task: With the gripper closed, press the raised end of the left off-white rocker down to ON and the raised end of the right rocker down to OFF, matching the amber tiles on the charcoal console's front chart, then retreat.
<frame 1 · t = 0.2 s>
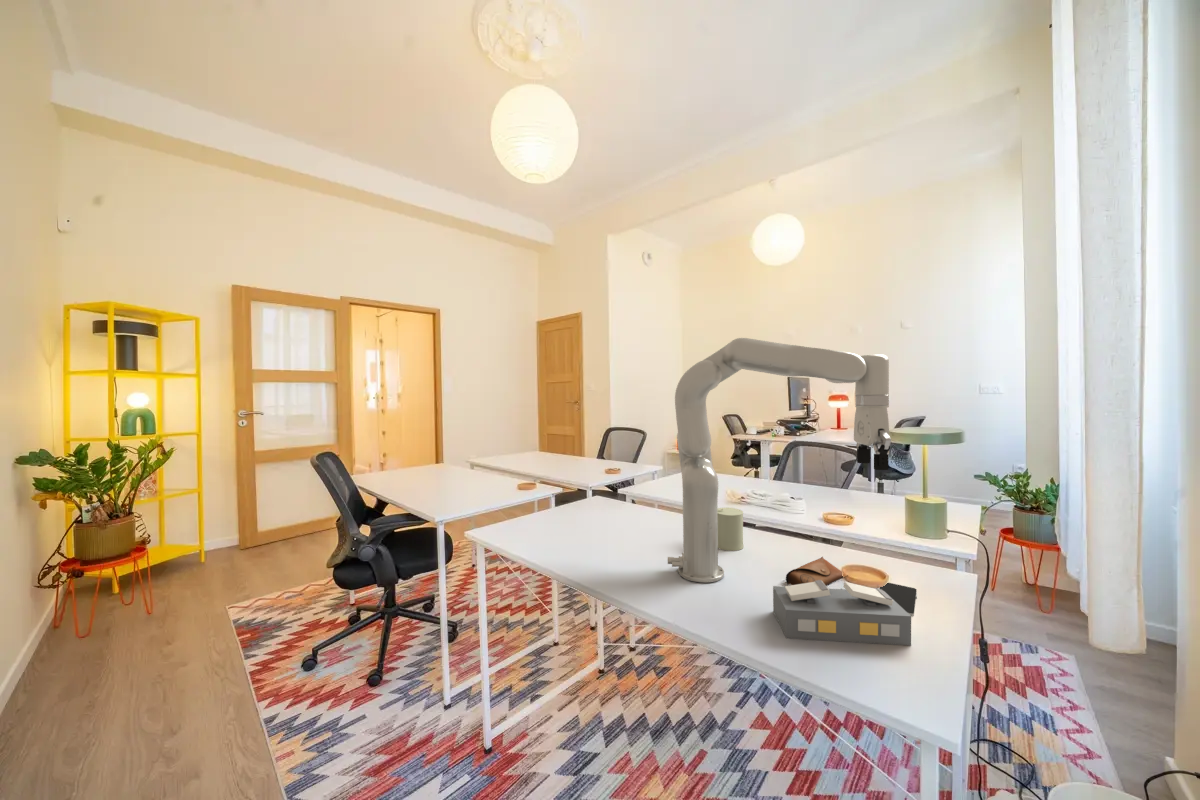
hand: (871, 466, 117), 31 cm above the table, fingers open, 9 cm apart
rocker A: (806, 590, 97), point 8 cm above the table, hinge at -12.0°
smartphone: (895, 601, 108), on the table
can: (729, 546, 146), on the table
console: (837, 627, 96), on the table
rocker B: (867, 592, 95), point 8 cm above the table, hinge at 12.0°
sunglasses case: (817, 581, 120), on the table
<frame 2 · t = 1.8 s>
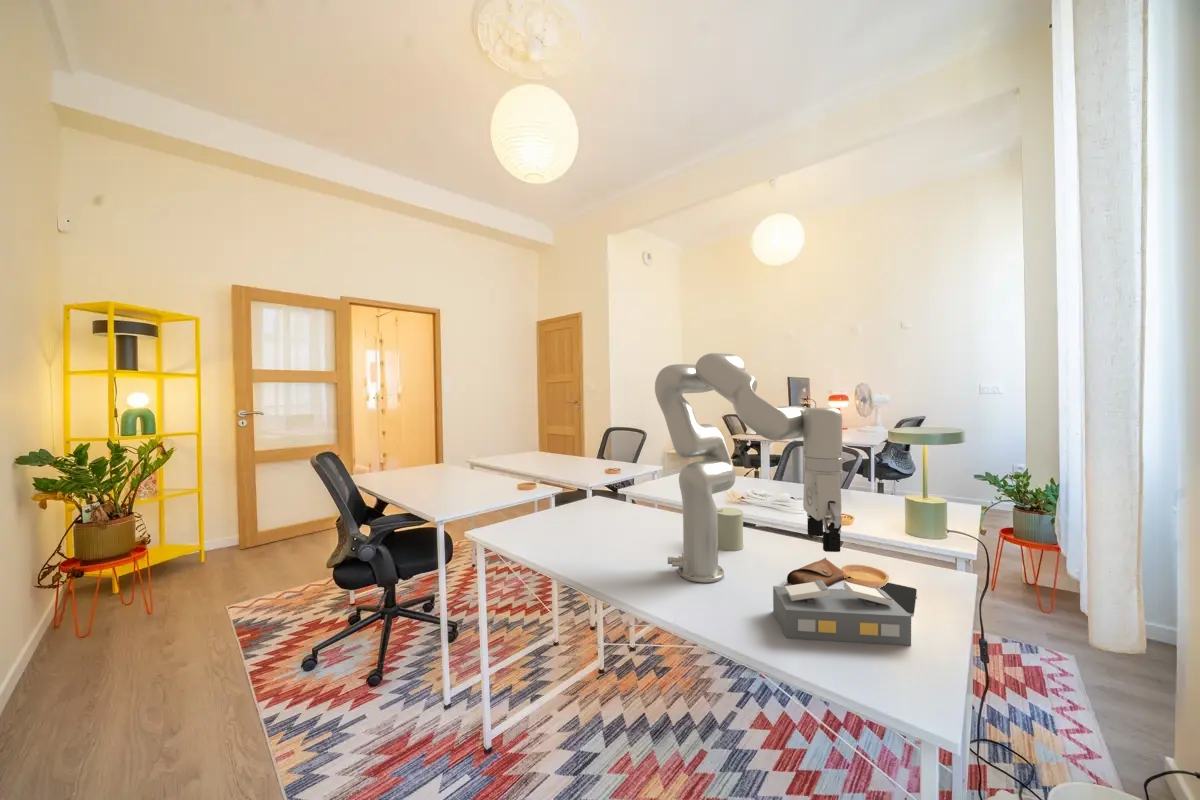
hand: (823, 543, 96), 18 cm above the table, fingers open, 9 cm apart
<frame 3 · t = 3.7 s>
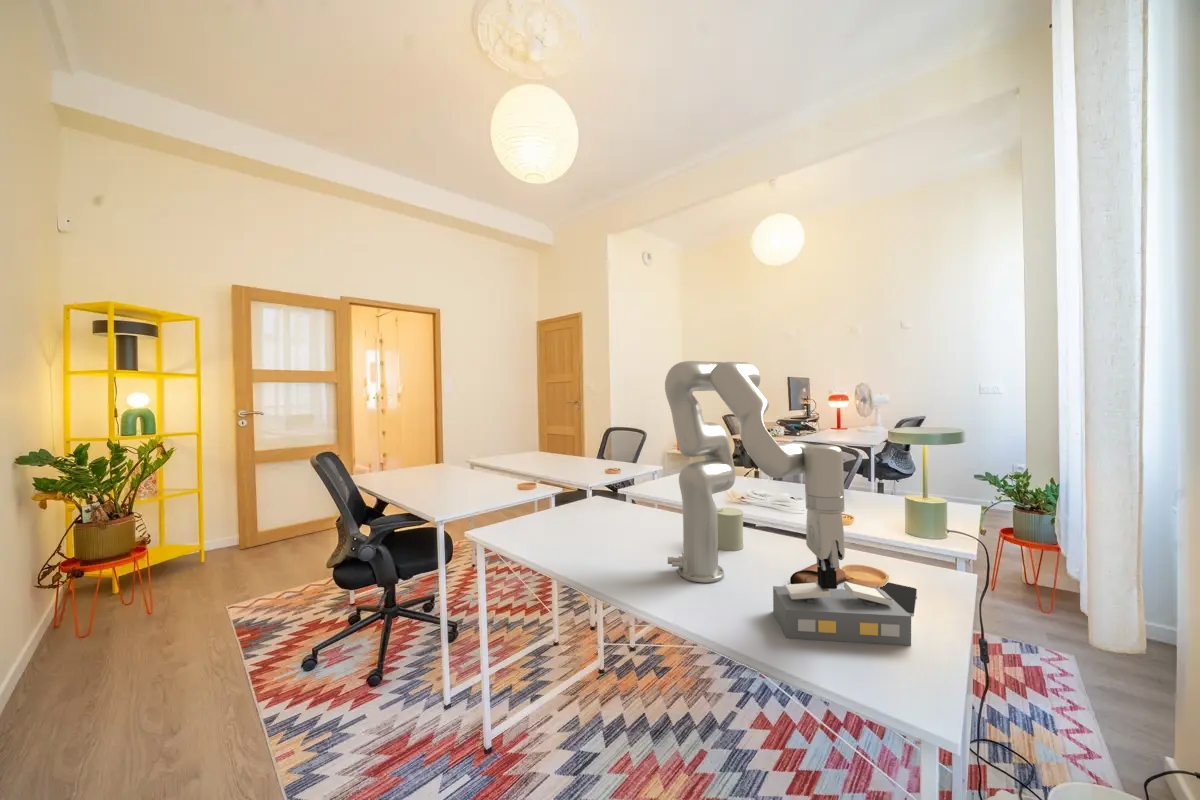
hand: (827, 586, 96), 9 cm above the table, fingers closed
rocker A: (807, 590, 97), point 8 cm above the table, hinge at -7.0°, touching gripper
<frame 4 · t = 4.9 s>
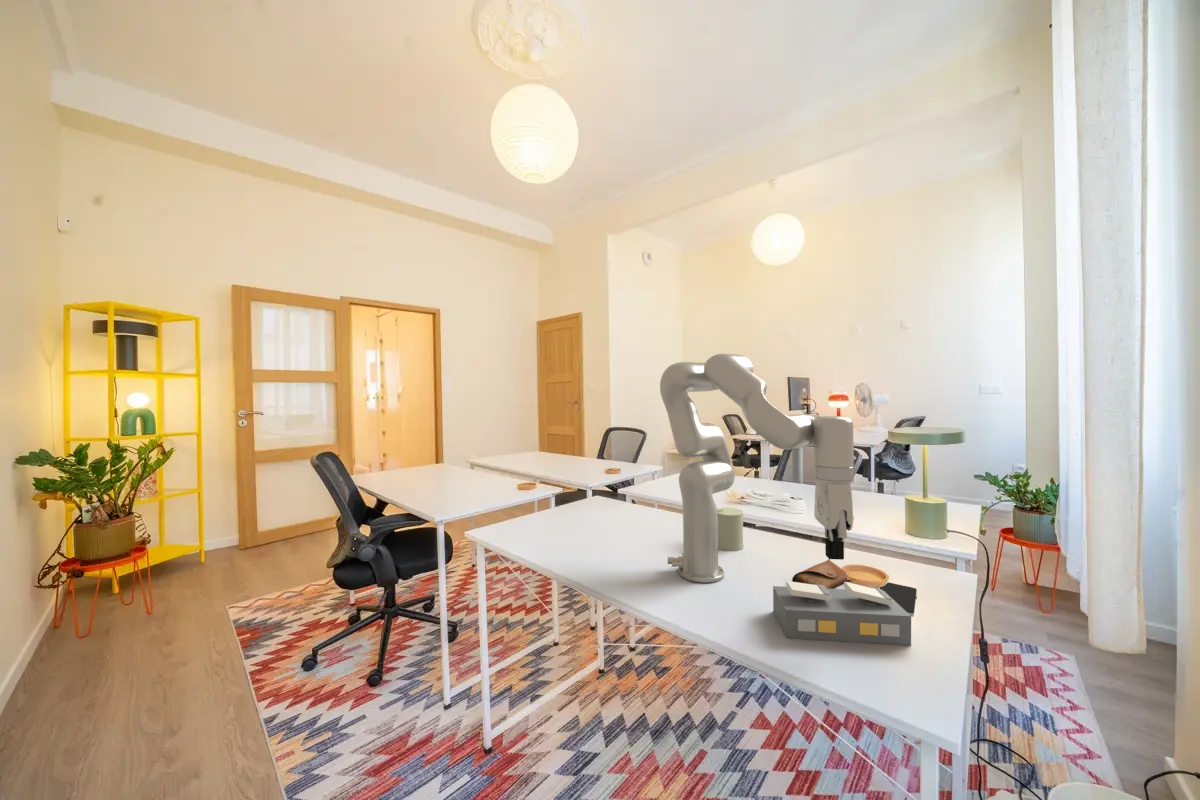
hand: (834, 557, 96), 15 cm above the table, fingers closed
rocker A: (808, 590, 97), point 8 cm above the table, hinge at 5.7°
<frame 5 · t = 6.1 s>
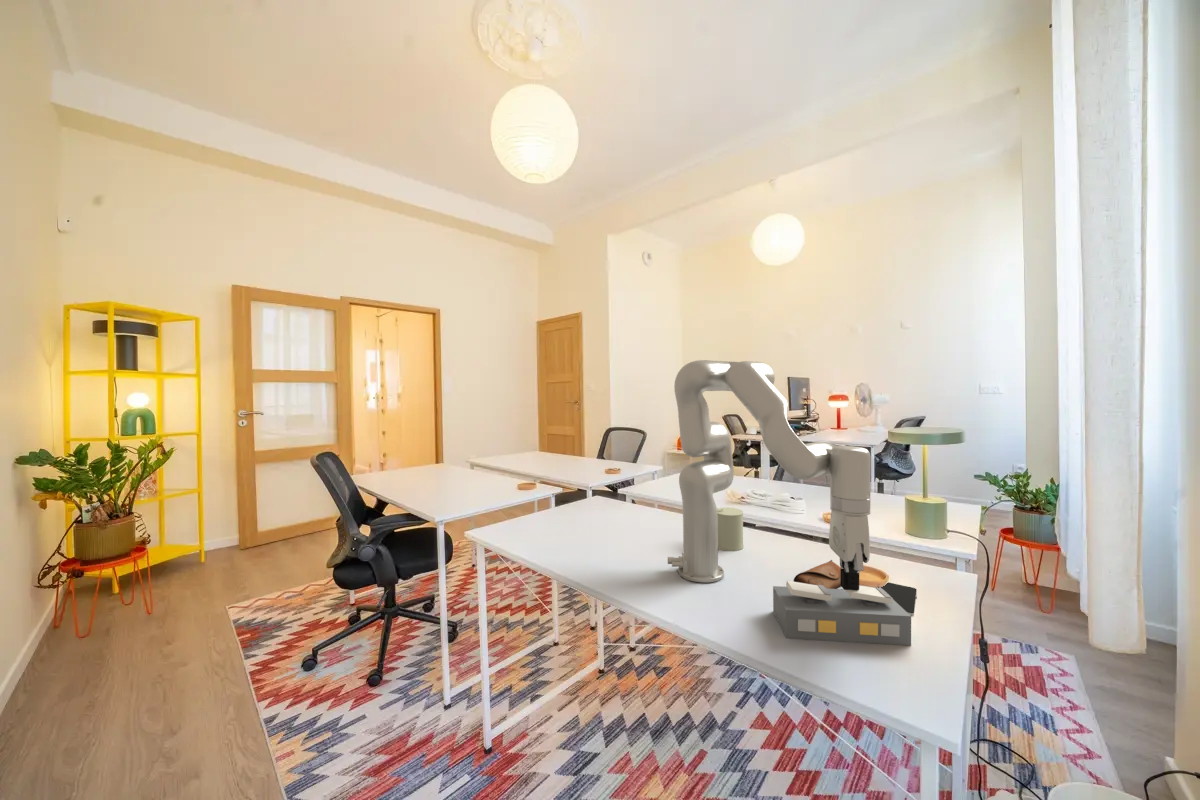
hand: (849, 588, 95), 9 cm above the table, fingers closed
rocker A: (808, 590, 97), point 8 cm above the table, hinge at 7.2°
rocker B: (867, 592, 95), point 8 cm above the table, hinge at 7.2°, touching gripper
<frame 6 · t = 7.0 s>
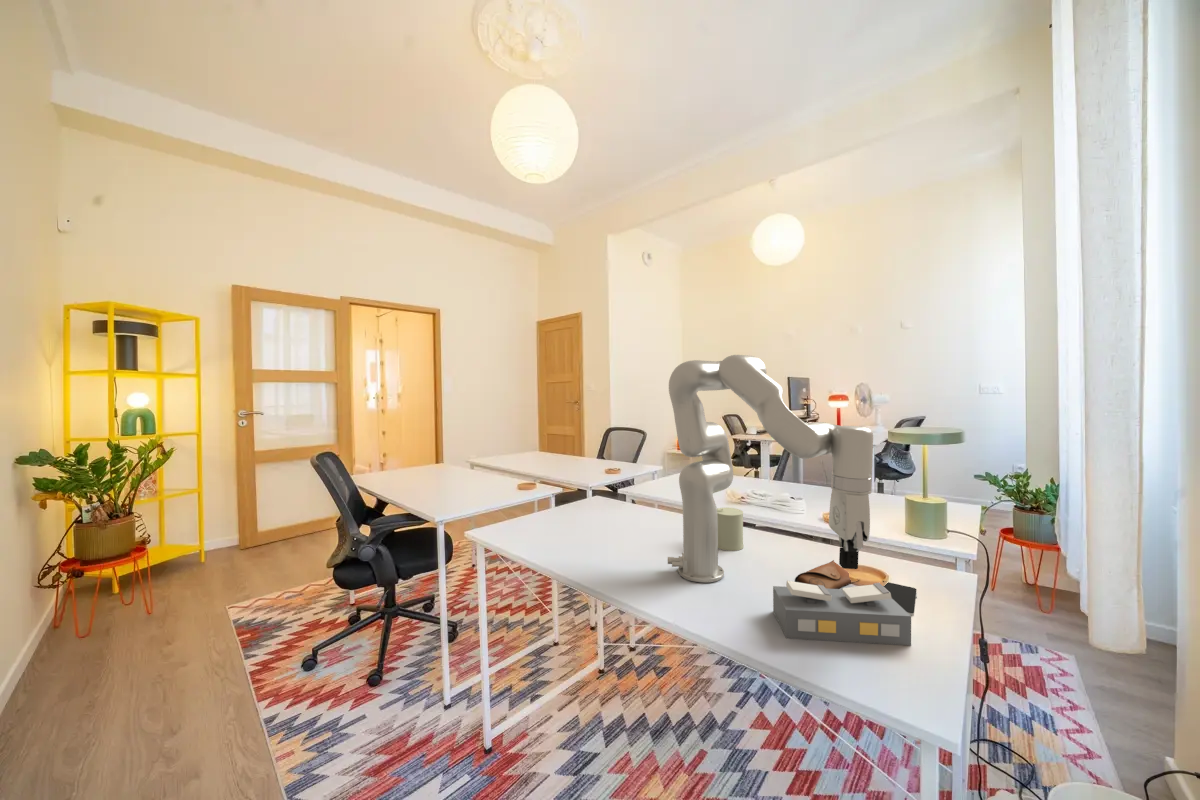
hand: (848, 567, 96), 13 cm above the table, fingers closed
rocker B: (865, 592, 95), point 8 cm above the table, hinge at -10.3°
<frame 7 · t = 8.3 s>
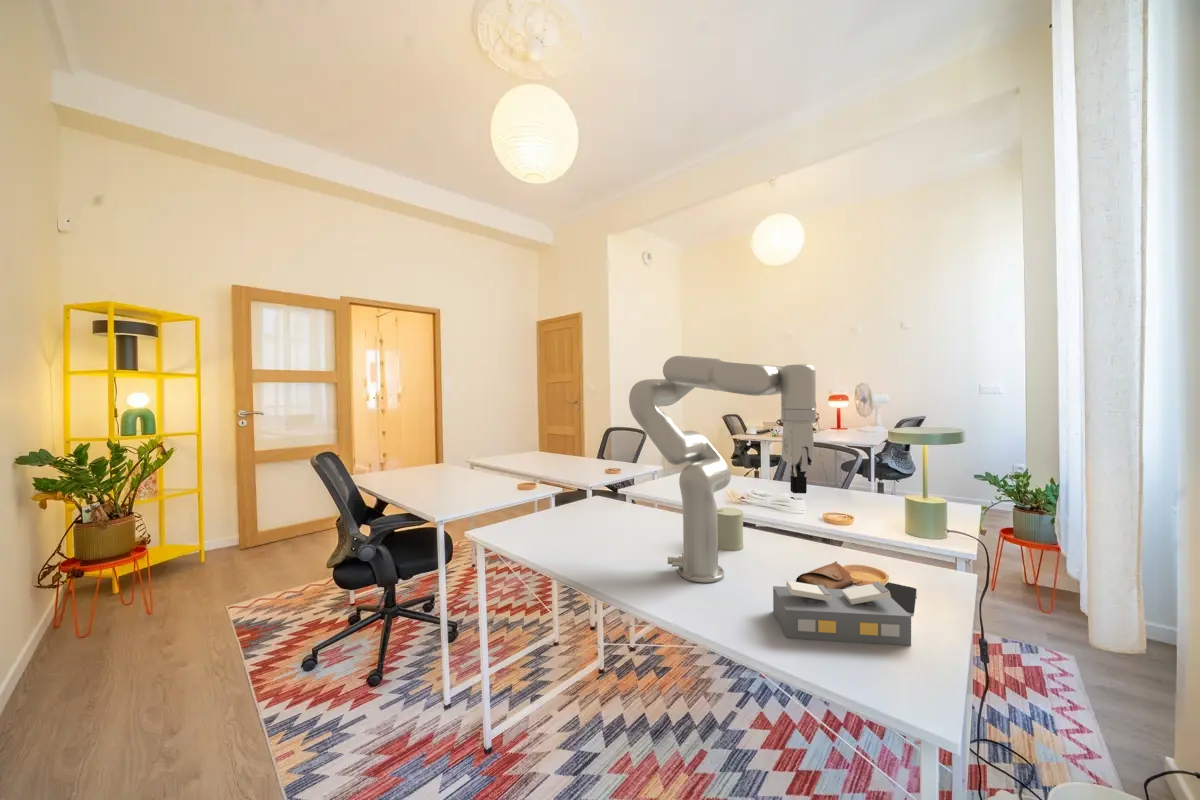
hand: (798, 492, 106), 27 cm above the table, fingers closed
rocker B: (865, 592, 95), point 8 cm above the table, hinge at -14.6°
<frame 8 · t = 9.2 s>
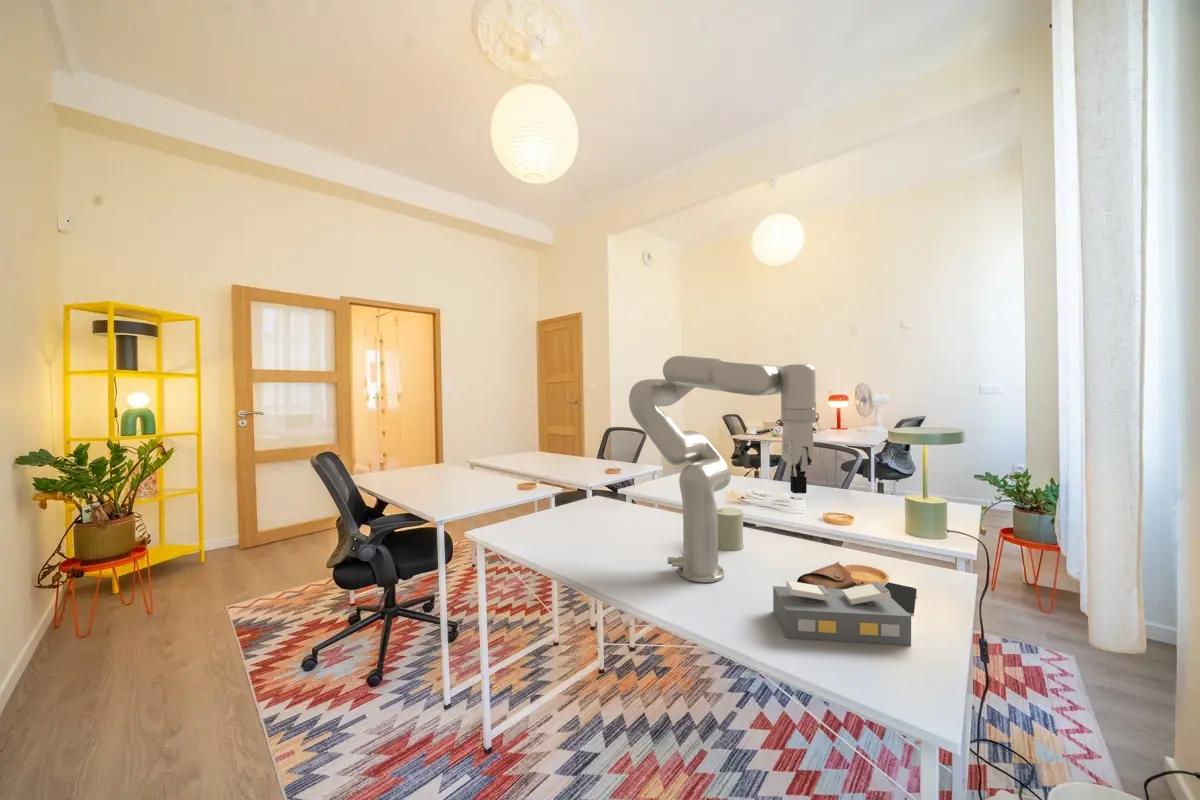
hand: (798, 492, 106), 27 cm above the table, fingers closed
rocker B: (865, 592, 95), point 8 cm above the table, hinge at -15.0°
at the end: rocker A at +8° (first picture: -12°); rocker B at -15° (first picture: +12°) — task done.
